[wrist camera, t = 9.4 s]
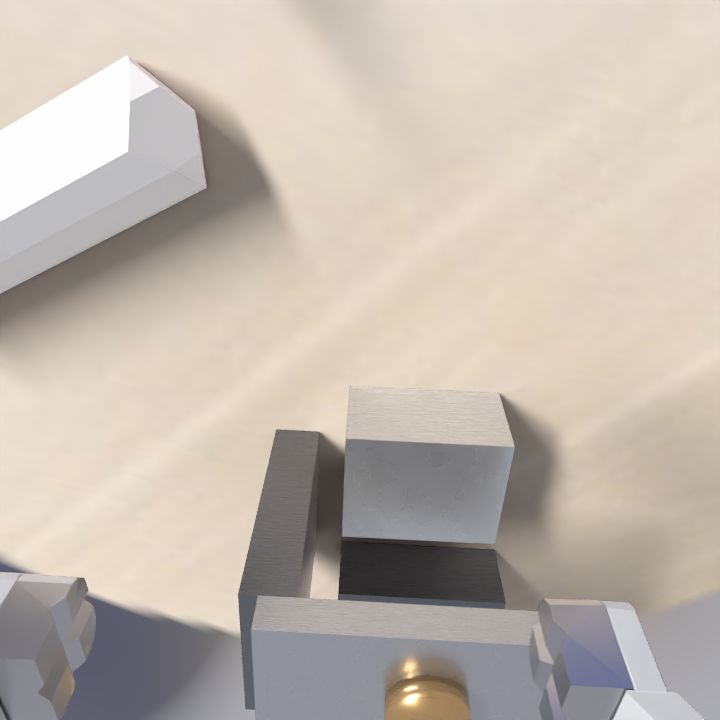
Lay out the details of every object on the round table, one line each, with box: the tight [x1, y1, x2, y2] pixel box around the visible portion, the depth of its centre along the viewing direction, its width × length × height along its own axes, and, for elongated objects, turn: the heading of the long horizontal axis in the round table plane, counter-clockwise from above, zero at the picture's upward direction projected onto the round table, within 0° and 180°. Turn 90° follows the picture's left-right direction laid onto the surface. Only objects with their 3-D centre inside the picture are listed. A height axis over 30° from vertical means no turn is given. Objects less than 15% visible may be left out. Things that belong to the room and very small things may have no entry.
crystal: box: [0, 56, 207, 294], centre depth 35 cm, size 7×7×24 cm
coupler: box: [238, 430, 543, 720], centre depth 40 cm, size 12×17×17 cm
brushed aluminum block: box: [342, 385, 515, 544], centre depth 42 cm, size 8×10×6 cm
